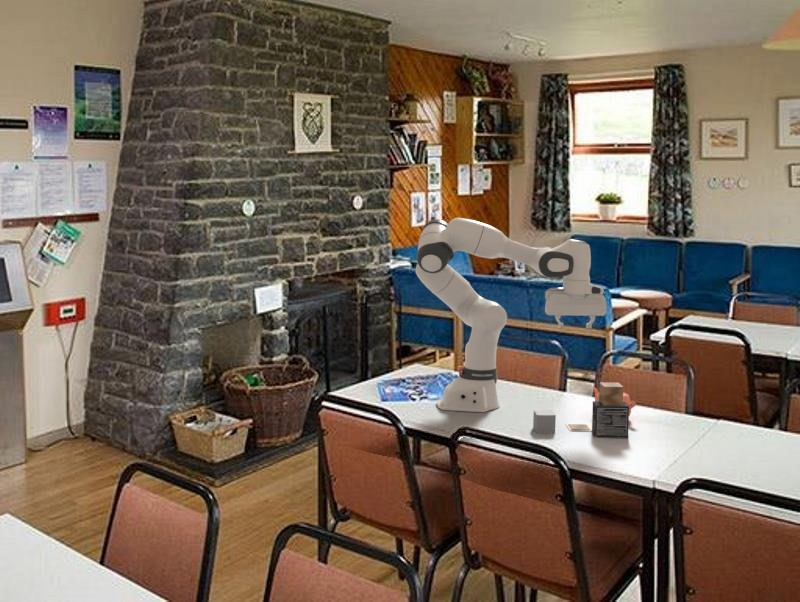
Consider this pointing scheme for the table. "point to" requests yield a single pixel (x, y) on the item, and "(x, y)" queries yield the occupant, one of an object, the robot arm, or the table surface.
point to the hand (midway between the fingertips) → (574, 328)
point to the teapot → (625, 399)
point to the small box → (610, 420)
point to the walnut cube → (611, 393)
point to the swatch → (578, 427)
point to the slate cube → (544, 421)
